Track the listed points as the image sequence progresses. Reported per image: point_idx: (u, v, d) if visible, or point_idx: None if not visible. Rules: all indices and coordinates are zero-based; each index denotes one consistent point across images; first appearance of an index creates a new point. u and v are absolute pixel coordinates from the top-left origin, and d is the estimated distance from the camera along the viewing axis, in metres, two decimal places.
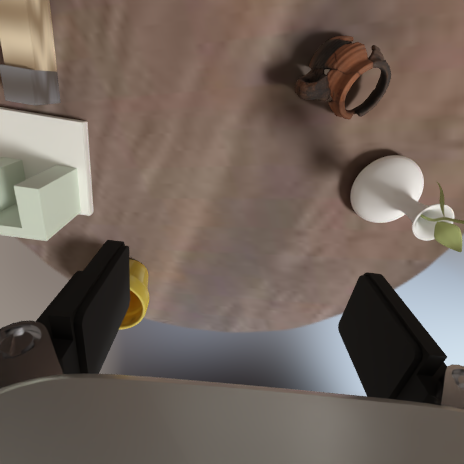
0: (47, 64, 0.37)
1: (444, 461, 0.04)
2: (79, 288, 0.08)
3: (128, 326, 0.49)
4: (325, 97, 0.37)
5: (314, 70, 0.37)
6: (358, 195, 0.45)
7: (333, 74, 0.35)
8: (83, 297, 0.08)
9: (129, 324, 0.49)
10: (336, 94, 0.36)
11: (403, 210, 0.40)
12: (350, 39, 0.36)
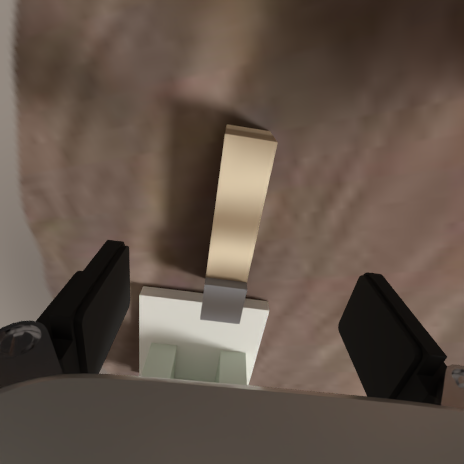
0: None
1: (444, 461, 0.04)
2: (79, 288, 0.08)
3: None
4: None
5: None
6: None
7: None
8: (83, 297, 0.08)
9: None
10: None
11: None
12: None
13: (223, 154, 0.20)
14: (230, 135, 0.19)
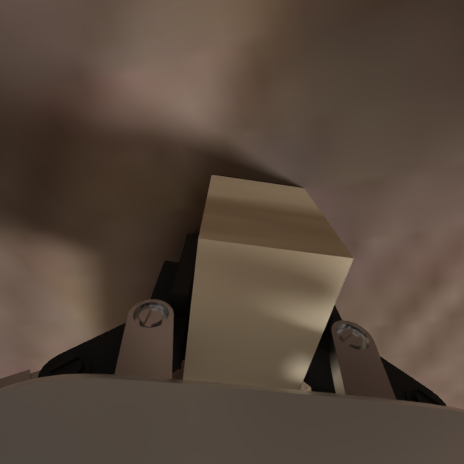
0: None
1: (444, 461, 0.04)
2: (184, 273, 0.09)
3: None
4: None
5: None
6: None
7: None
8: (191, 280, 0.09)
9: None
10: None
11: None
12: None
13: (196, 287, 0.07)
14: (214, 242, 0.06)
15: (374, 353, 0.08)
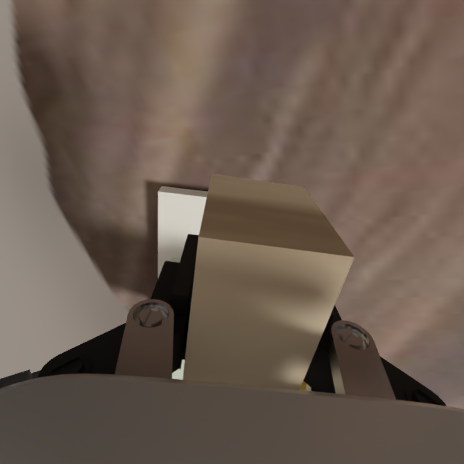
0: None
1: (444, 461, 0.04)
2: (184, 273, 0.09)
3: None
4: None
5: None
6: None
7: None
8: (191, 281, 0.09)
9: None
10: None
11: None
12: None
13: (196, 286, 0.07)
14: (215, 241, 0.06)
15: (374, 353, 0.08)
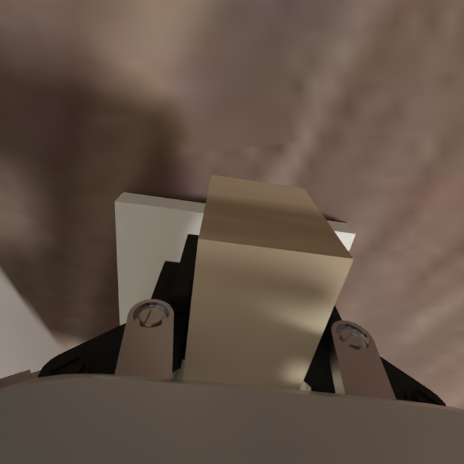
0: None
1: (444, 461, 0.04)
2: (184, 273, 0.09)
3: None
4: None
5: None
6: None
7: None
8: (191, 281, 0.09)
9: None
10: None
11: None
12: None
13: (196, 288, 0.07)
14: (214, 242, 0.06)
15: (374, 353, 0.08)
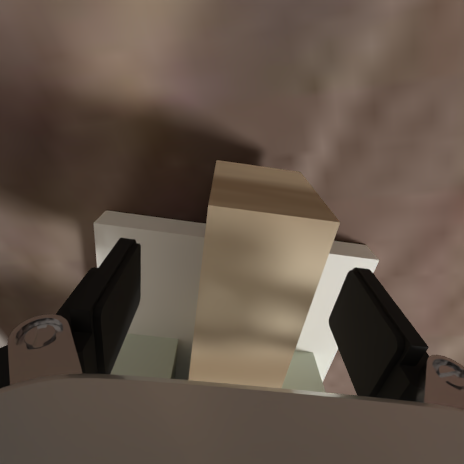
0: None
1: (444, 461, 0.04)
2: (96, 283, 0.08)
3: None
4: None
5: None
6: None
7: None
8: (101, 292, 0.08)
9: None
10: None
11: None
12: None
13: (206, 250, 0.08)
14: (222, 208, 0.08)
15: None
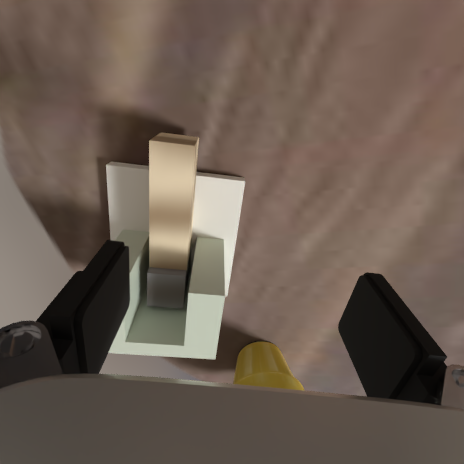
0: (189, 248, 0.30)
1: (444, 461, 0.04)
2: (79, 288, 0.08)
3: None
4: None
5: None
6: None
7: None
8: (83, 297, 0.08)
9: None
10: None
11: None
12: None
13: (150, 157, 0.23)
14: (154, 141, 0.23)
15: None
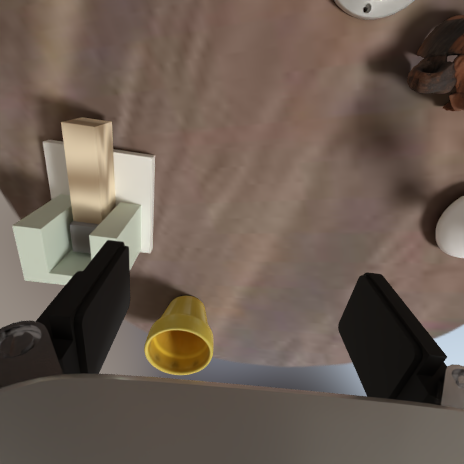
0: (110, 209, 0.39)
1: (444, 461, 0.04)
2: (79, 288, 0.08)
3: (192, 372, 0.45)
4: (448, 89, 0.31)
5: (430, 58, 0.32)
6: (447, 231, 0.41)
7: None
8: (83, 297, 0.08)
9: (192, 369, 0.45)
10: (463, 85, 0.30)
11: None
12: None
13: (63, 135, 0.31)
14: (64, 123, 0.31)
15: None
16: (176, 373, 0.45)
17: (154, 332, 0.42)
